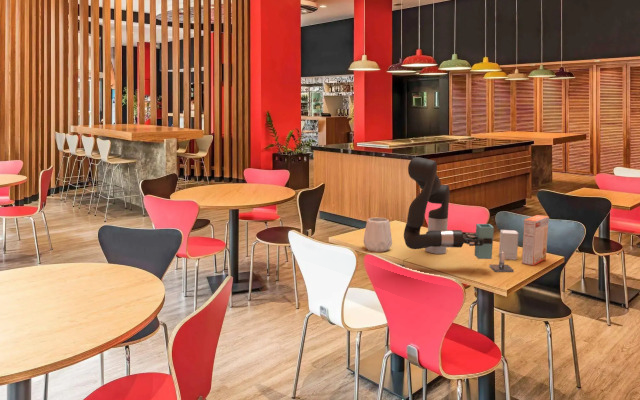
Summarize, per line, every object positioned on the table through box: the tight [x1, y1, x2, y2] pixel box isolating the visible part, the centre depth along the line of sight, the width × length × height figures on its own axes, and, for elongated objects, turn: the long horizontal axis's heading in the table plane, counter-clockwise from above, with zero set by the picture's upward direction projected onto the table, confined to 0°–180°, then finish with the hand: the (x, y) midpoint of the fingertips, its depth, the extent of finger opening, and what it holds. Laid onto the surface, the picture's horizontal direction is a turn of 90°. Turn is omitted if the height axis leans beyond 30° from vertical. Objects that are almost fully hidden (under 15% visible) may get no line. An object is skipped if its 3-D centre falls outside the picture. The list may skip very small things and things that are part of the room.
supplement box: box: [498, 229, 520, 261], centre depth 251 cm, size 7×7×13 cm
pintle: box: [489, 252, 515, 273], centre depth 233 cm, size 8×8×8 cm
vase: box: [363, 217, 393, 253], centre depth 264 cm, size 14×14×15 cm
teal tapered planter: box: [473, 223, 495, 260], centre depth 229 cm, size 6×6×14 cm
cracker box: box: [521, 214, 550, 267], centre depth 244 cm, size 14×6×21 cm, turn 134°
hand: (489, 239), depth 229 cm, fingers closed on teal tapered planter, 5 cm apart
